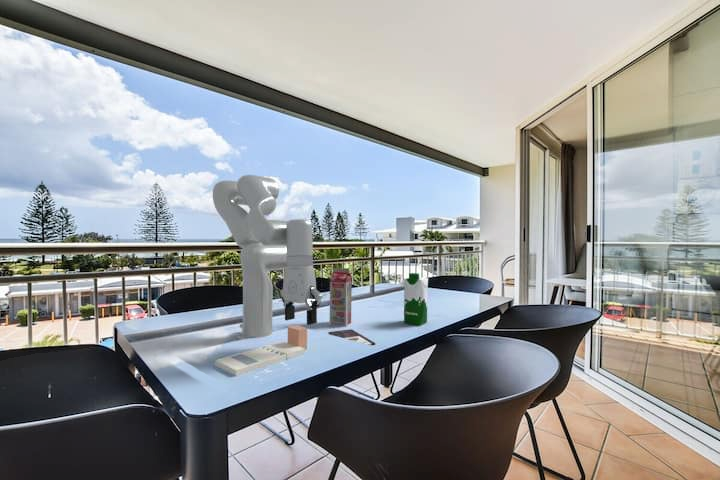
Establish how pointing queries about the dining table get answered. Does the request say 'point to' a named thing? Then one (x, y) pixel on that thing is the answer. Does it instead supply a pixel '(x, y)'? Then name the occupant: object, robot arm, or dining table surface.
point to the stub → (292, 342)
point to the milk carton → (415, 299)
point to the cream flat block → (249, 360)
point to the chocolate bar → (352, 336)
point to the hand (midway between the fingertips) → (300, 321)
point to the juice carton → (340, 297)
